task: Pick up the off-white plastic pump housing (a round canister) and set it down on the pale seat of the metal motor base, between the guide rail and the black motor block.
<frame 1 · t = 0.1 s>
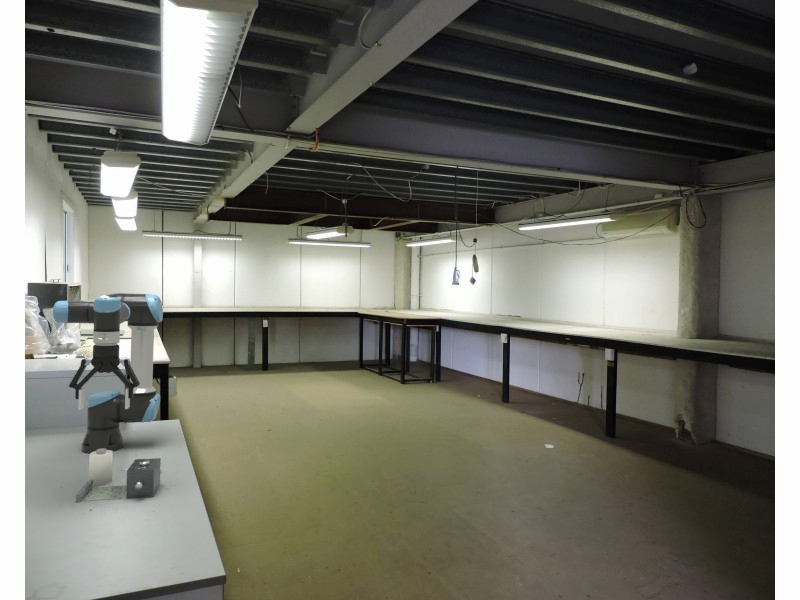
hand: (104, 408, 166), 28 cm above the table, fingers open, 13 cm apart
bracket: (152, 471, 188), on the table
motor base: (117, 492, 167), on the table
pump: (100, 481, 176), on the table
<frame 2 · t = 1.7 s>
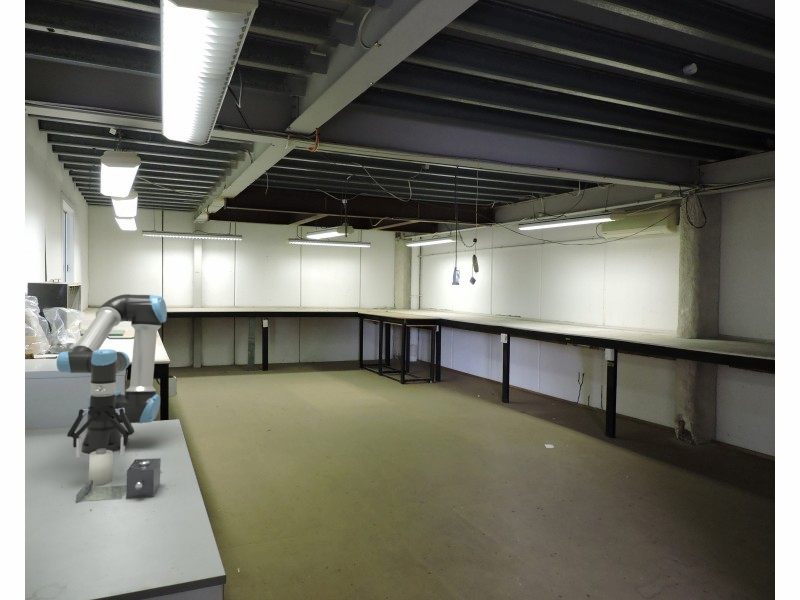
hand: (100, 455, 175), 9 cm above the table, fingers open, 13 cm apart
nothing on the table moved.
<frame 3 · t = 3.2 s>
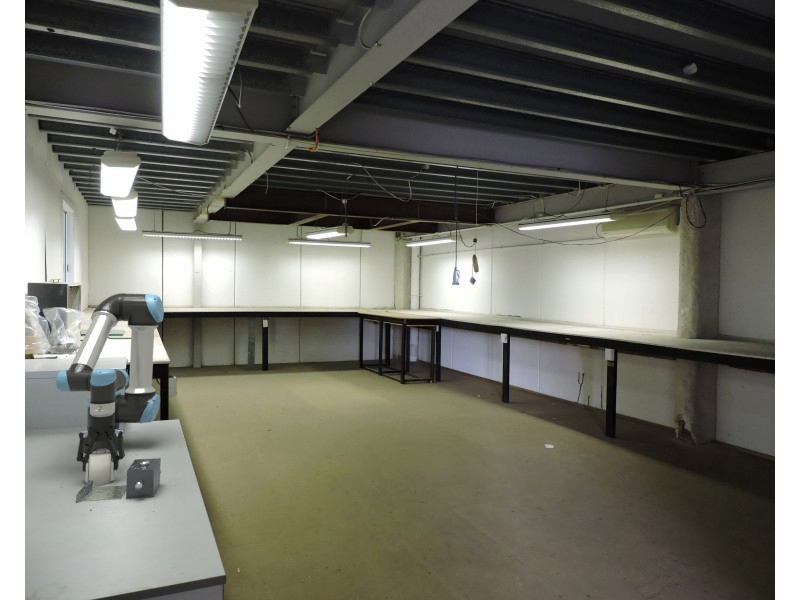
hand: (100, 479, 176), 1 cm above the table, fingers closed on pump, 7 cm apart
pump: (100, 481, 176), on the table, touching gripper
everything else where it was.
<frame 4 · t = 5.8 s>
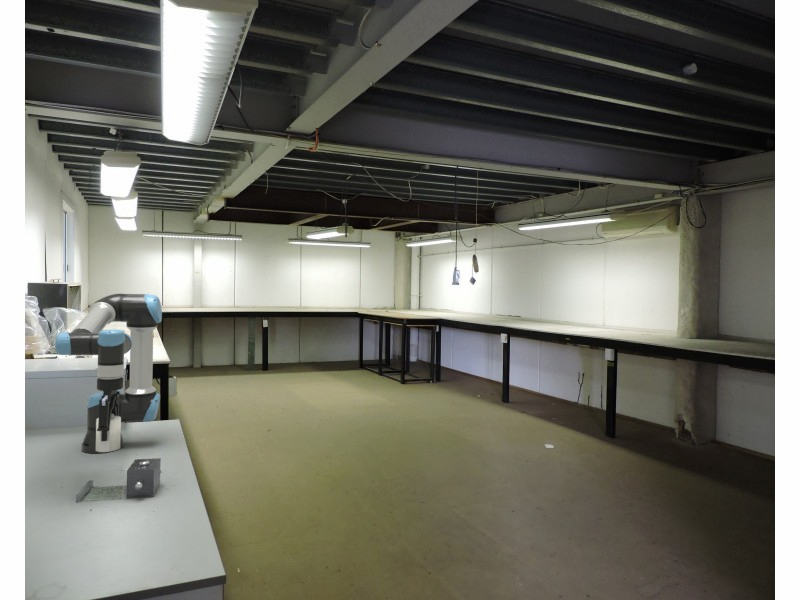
hand: (108, 446, 166), 15 cm above the table, fingers closed on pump, 7 cm apart
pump: (108, 448, 166), point 15 cm above the table, touching gripper
everything else where it was.
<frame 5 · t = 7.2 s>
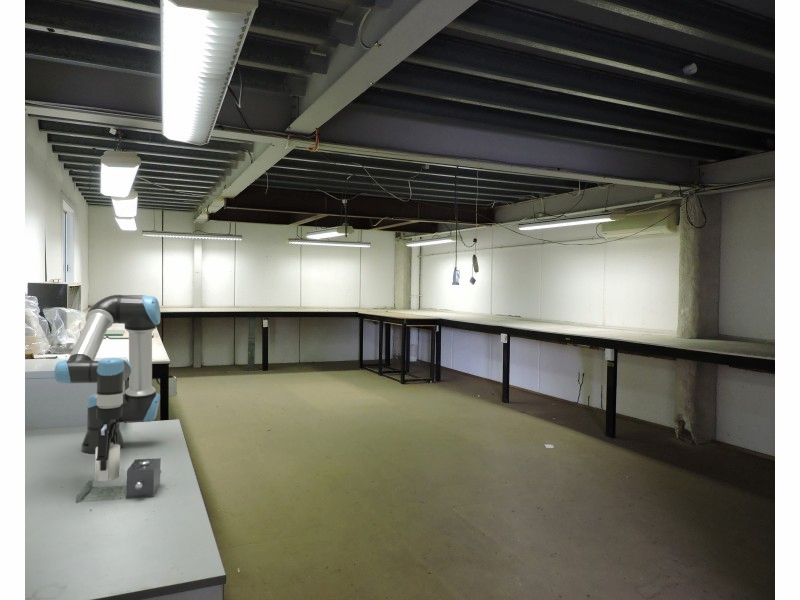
hand: (107, 475, 166), 6 cm above the table, fingers closed on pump, 7 cm apart
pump: (107, 477, 166), point 5 cm above the table, touching gripper
everything else where it was.
when the fingers open (2 cm above the table, at t = 8.4 s): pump drops 1 cm, resting on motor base.
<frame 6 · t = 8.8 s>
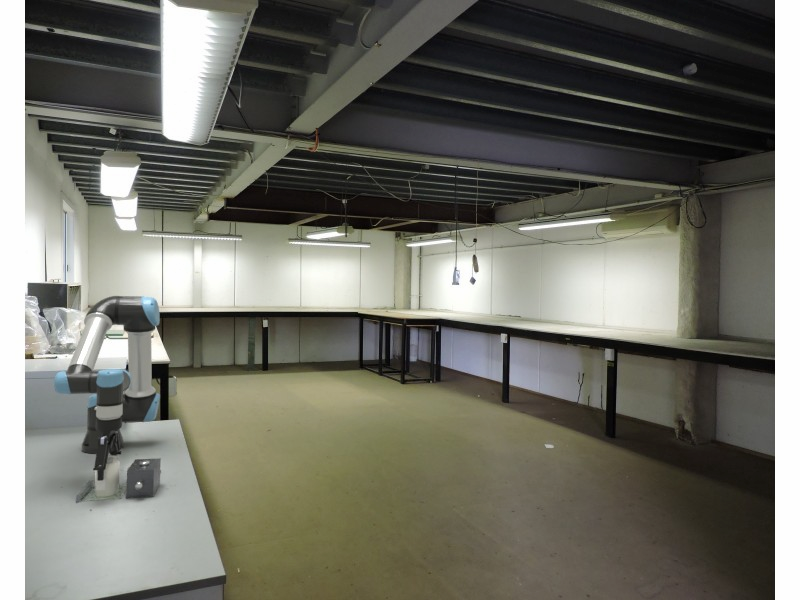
hand: (107, 481, 166), 4 cm above the table, fingers open, 12 cm apart
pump: (106, 492, 166), resting on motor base
everything else where it was.
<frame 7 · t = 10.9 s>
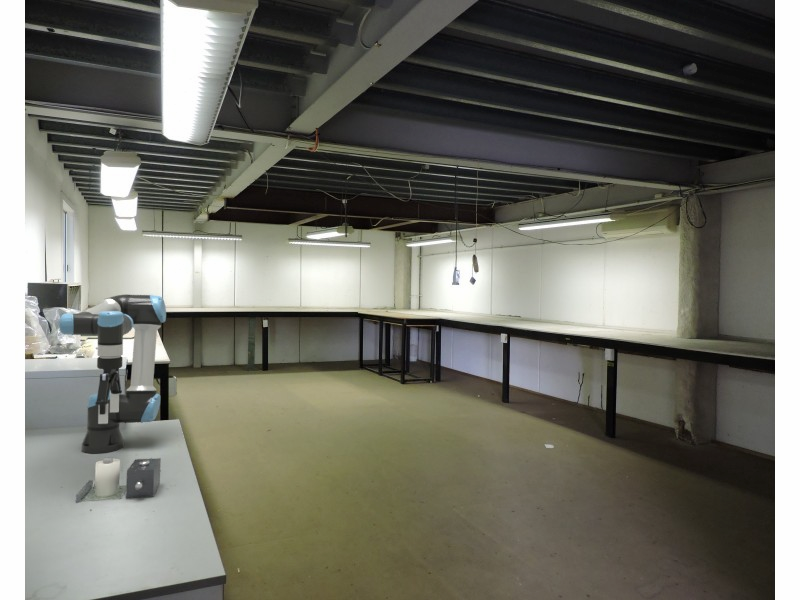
hand: (108, 417, 174), 23 cm above the table, fingers open, 13 cm apart
nothing on the table moved.
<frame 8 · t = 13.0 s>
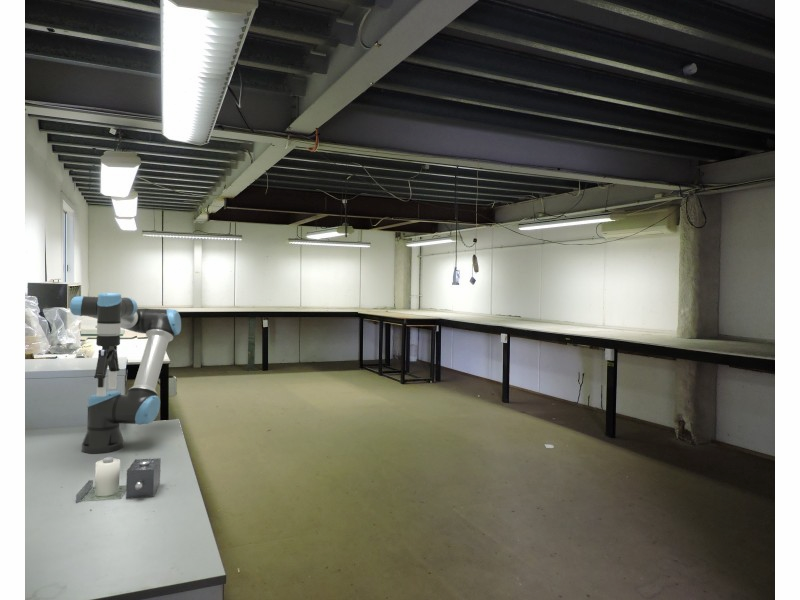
hand: (106, 392, 186), 29 cm above the table, fingers open, 13 cm apart
at the end: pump inside the target area on the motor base (0.2 cm from its centre), point 0.3 cm above the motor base's base; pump tilted 1°; the gripper is holding nothing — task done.
